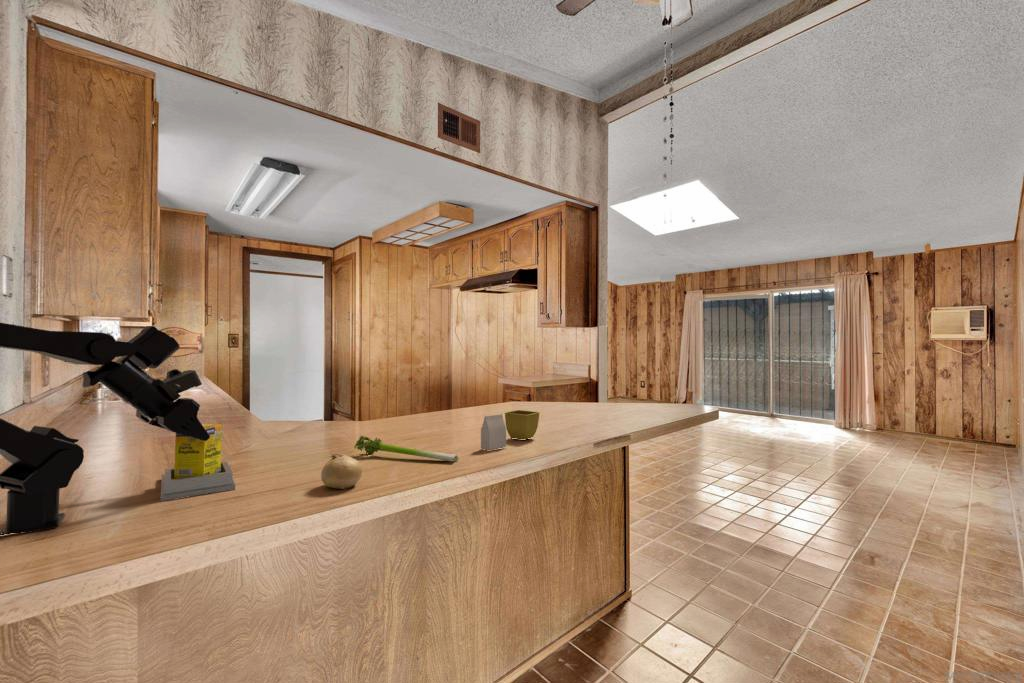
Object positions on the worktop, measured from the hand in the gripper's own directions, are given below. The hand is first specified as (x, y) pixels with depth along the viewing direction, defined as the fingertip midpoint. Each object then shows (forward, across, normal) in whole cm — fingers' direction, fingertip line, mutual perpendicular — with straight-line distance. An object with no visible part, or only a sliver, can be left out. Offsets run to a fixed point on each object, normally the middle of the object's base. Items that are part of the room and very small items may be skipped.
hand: (200, 436), depth 91 cm
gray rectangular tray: (+8, +3, +7) cm, 11 cm away
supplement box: (+6, 0, +6) cm, 9 cm away
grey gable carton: (+54, -25, -40) cm, 72 cm away
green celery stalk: (+38, -13, -23) cm, 47 cm away
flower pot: (+66, -23, -52) cm, 88 cm away
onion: (+21, -22, -6) cm, 31 cm away
